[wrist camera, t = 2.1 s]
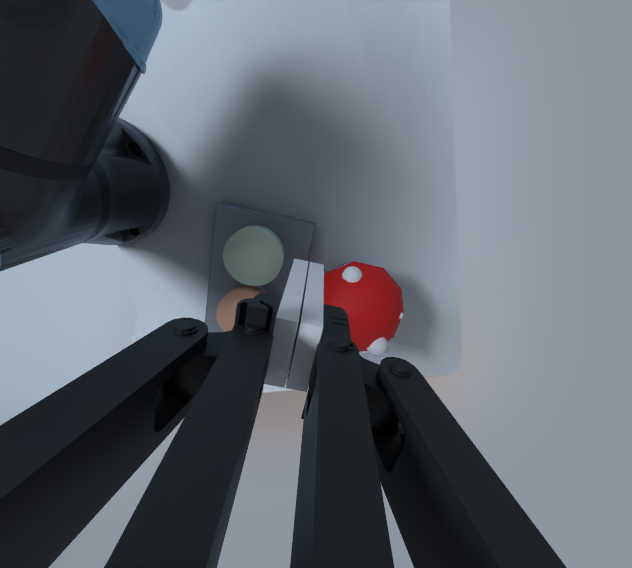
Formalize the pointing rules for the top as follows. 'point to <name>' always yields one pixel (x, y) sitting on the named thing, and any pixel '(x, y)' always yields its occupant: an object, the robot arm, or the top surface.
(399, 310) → the mushroom
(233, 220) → the button board
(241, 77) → the top surface
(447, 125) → the top surface
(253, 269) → the sage cap
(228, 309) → the terracotta cap
